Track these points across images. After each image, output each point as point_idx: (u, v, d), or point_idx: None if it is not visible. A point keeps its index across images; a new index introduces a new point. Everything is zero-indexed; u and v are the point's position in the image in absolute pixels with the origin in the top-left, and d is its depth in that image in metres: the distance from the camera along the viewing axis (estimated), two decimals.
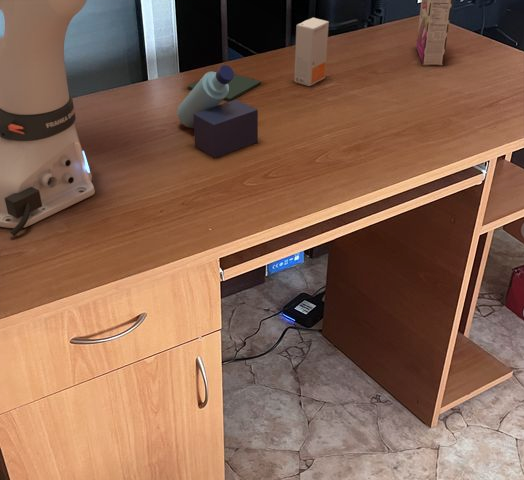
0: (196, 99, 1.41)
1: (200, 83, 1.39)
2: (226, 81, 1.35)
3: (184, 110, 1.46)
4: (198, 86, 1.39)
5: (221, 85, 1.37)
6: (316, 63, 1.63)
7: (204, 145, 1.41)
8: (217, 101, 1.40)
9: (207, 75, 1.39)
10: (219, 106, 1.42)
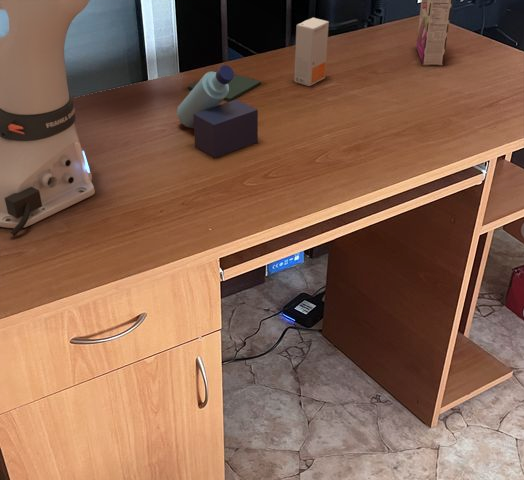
0: (196, 99, 1.41)
1: (200, 83, 1.39)
2: (226, 81, 1.35)
3: (184, 110, 1.46)
4: (198, 86, 1.39)
5: (221, 85, 1.37)
6: (316, 63, 1.63)
7: (204, 145, 1.41)
8: (217, 101, 1.40)
9: (207, 75, 1.39)
10: (219, 106, 1.42)
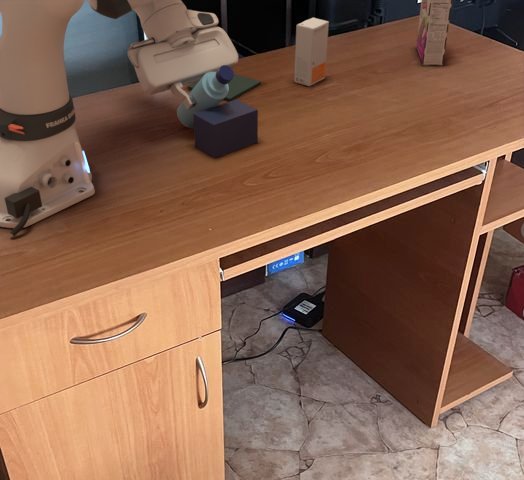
0: (196, 99, 1.41)
1: (200, 83, 1.39)
2: (226, 81, 1.35)
3: (184, 110, 1.46)
4: (198, 86, 1.39)
5: (221, 85, 1.37)
6: (316, 63, 1.63)
7: (204, 145, 1.41)
8: (217, 101, 1.40)
9: (207, 75, 1.39)
10: (219, 106, 1.42)
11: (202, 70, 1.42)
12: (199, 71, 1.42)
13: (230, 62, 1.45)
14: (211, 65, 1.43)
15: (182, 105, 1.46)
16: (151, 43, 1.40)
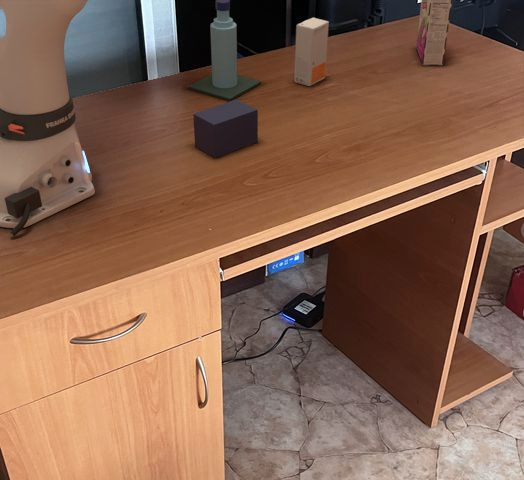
0: (216, 46, 1.57)
1: (211, 31, 1.57)
2: (226, 5, 1.53)
3: (216, 72, 1.61)
4: (211, 35, 1.57)
5: (225, 15, 1.54)
6: (316, 63, 1.63)
7: (204, 145, 1.41)
8: (231, 33, 1.56)
9: (213, 23, 1.57)
10: (219, 106, 1.42)
11: None
12: None
13: None
14: None
15: (213, 72, 1.62)
16: None
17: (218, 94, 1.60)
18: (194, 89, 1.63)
